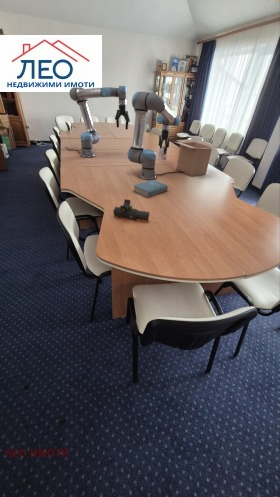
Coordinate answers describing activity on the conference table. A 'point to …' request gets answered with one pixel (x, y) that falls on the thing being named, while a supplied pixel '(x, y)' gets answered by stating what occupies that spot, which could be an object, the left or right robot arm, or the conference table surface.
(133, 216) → the laser sight
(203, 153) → the box
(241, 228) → the conference table surface
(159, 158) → the ink cartridge box
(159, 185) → the book
